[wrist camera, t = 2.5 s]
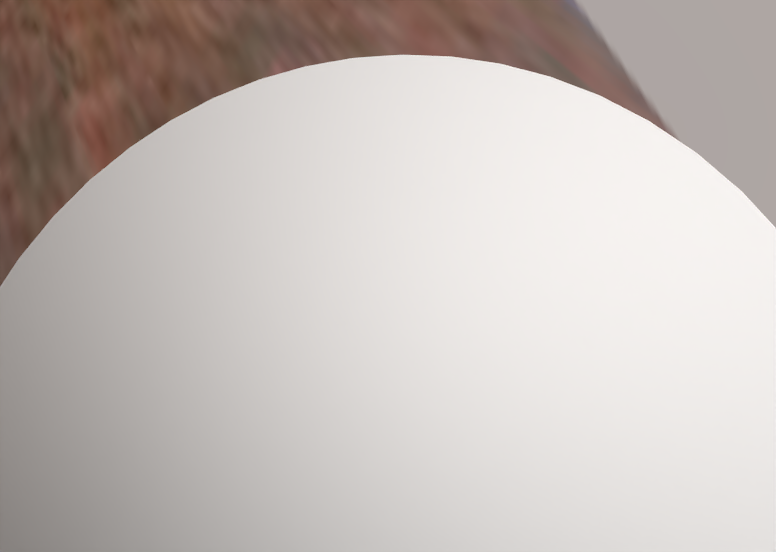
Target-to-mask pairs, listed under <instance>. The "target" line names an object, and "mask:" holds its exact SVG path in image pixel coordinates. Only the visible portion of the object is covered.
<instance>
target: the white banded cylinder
mask: <svg viewBox="0 0 776 552" xmlns="http://www.w3.org/2000/svg"><path fill="white" fill-rule="evenodd" d="M0 552H776V228H775V227H774V226H773V225H772V223H771V222H770V221H769V220H768V219H767V218H766V217H765V216H764V215H763V214H762V213H761V212H760V211H759V209H758V208H757V207H756V206H755V205H754V204H753V203H752V202H751V201H750V200H749V199H748V198H747V197H746V196H745V194H744V193H743V192H742V191H741V190H739V189H738V188H737V187H736V186H735V185H734V184H732V183H731V182H730V181H729V180H728V179H726V178H725V177H724V176H723V175H722V174H721V173H719V172H718V171H717V170H716V169H715V168H714V167H712V166H711V165H710V164H709V163H708V162H707V161H705V160H704V159H703V158H702V157H701V156H699V155H698V154H697V153H696V152H694V151H693V150H691V149H690V148H688V147H687V146H685V145H684V144H682V143H681V142H679V141H678V140H676V139H675V138H673V137H672V136H670V135H669V134H668V133H666V132H665V131H663V130H662V129H660V128H659V127H657V126H656V125H654V124H653V123H651V122H650V121H648V120H646V119H644V118H642V117H640V116H638V115H636V114H634V113H632V112H630V111H629V110H627V109H625V108H623V107H621V106H619V105H617V104H615V103H613V102H611V101H609V100H607V99H605V98H603V97H601V96H599V95H597V94H594V93H591V92H589V91H586V90H584V89H581V88H578V87H576V86H573V85H571V84H568V83H565V82H563V81H560V80H557V79H555V78H552V77H549V76H545V75H541V74H538V73H534V72H530V71H526V70H522V69H518V68H515V67H511V66H507V65H503V64H498V63H491V62H484V61H478V60H471V59H464V58H457V57H448V56H422V55H391V56H376V57H362V58H351V59H345V60H340V61H334V62H328V63H323V64H317V65H311V66H306V67H302V68H299V69H295V70H292V71H288V72H285V73H281V74H278V75H274V76H271V77H267V78H264V79H260V80H257V81H255V82H252V83H250V84H247V85H245V86H242V87H240V88H237V89H235V90H232V91H230V92H227V93H225V94H222V95H220V96H217V97H215V98H213V99H211V100H209V101H207V102H205V103H203V104H201V105H199V106H198V107H196V108H194V109H192V110H190V111H188V112H186V113H184V114H182V115H180V116H178V117H177V118H175V119H173V120H171V121H169V122H168V123H166V124H165V125H163V126H162V127H160V128H159V129H157V130H156V131H154V132H153V133H151V134H150V135H148V136H147V137H145V138H144V139H142V140H141V141H139V142H138V143H136V144H135V145H133V146H131V147H130V148H129V149H127V150H126V151H125V152H124V153H122V154H121V155H120V156H119V157H118V158H116V159H115V160H114V161H113V162H111V163H110V164H109V165H108V166H107V167H105V168H104V169H103V170H102V171H100V172H99V173H98V174H97V175H96V176H94V177H93V178H92V179H91V180H90V181H88V182H87V183H86V184H85V185H84V186H83V187H82V188H81V189H80V190H79V191H78V192H77V193H76V194H75V195H74V196H73V197H72V198H71V199H70V200H69V201H68V202H67V203H66V204H65V205H64V206H63V207H62V208H61V209H60V210H59V211H58V212H57V213H56V214H55V215H54V216H53V218H52V219H51V220H50V221H49V222H48V224H47V225H46V226H45V227H44V229H43V230H42V231H41V232H40V233H39V235H38V236H37V237H36V238H35V240H34V241H33V242H32V243H31V244H30V246H29V247H28V248H27V249H26V251H25V252H24V253H23V254H22V255H21V257H20V258H19V259H18V261H17V262H16V264H15V265H14V267H13V268H12V270H11V271H10V273H9V274H8V276H7V277H6V279H5V280H4V282H3V284H2V285H1V287H0Z"/></svg>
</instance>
